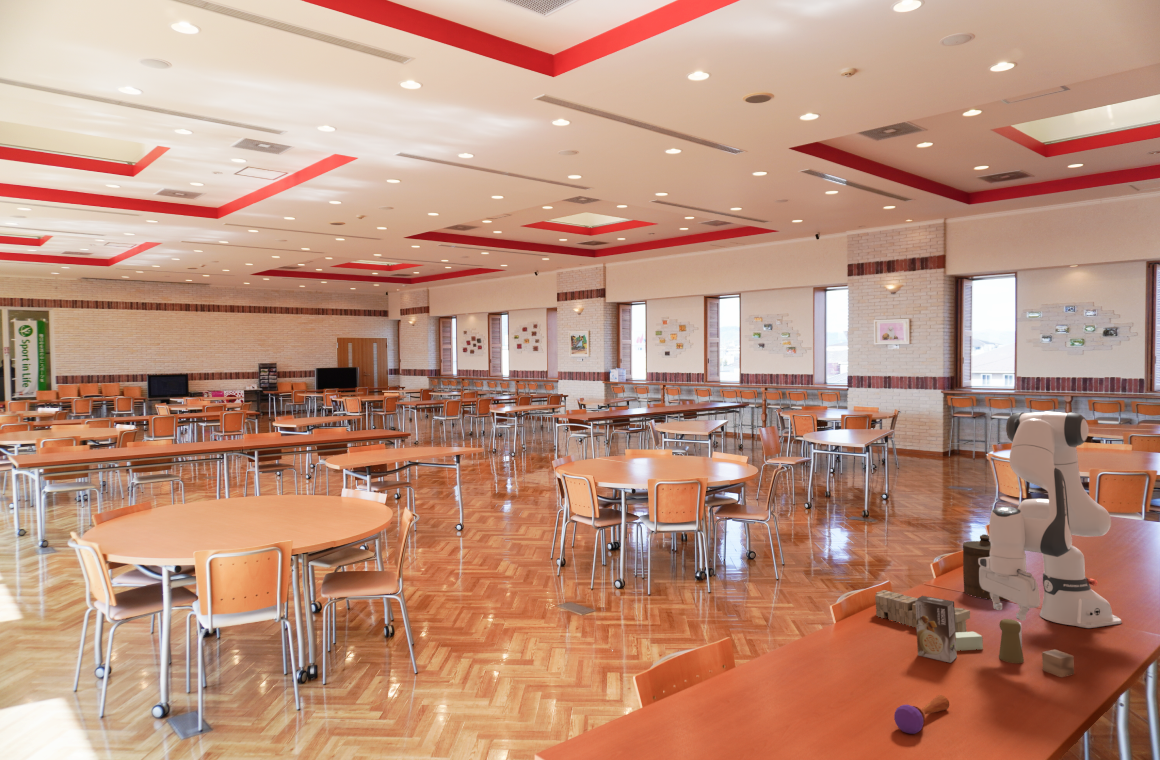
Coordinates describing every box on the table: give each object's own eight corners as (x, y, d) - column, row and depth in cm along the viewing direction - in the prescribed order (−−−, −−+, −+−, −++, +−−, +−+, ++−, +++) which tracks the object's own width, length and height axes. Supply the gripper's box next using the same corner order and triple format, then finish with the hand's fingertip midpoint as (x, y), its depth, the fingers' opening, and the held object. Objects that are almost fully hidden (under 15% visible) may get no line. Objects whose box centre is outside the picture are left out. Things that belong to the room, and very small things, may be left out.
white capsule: (1014, 642, 207) (1013, 619, 207) (1026, 648, 202) (1025, 624, 202) (998, 643, 207) (997, 620, 207) (1010, 649, 202) (1009, 625, 202)
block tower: (872, 618, 235) (958, 641, 210) (870, 593, 235) (956, 613, 211) (886, 614, 239) (971, 635, 214) (884, 589, 239) (969, 608, 215)
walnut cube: (1055, 667, 189) (1055, 649, 189) (1074, 674, 184) (1073, 655, 184) (1042, 670, 187) (1042, 652, 187) (1061, 677, 182) (1060, 658, 183)
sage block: (973, 644, 207) (973, 631, 207) (982, 649, 203) (982, 636, 203) (948, 646, 206) (948, 632, 206) (957, 651, 202) (956, 637, 202)
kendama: (957, 697, 164) (918, 716, 152) (952, 720, 165) (912, 742, 153) (932, 684, 169) (892, 702, 157) (927, 707, 170) (887, 727, 157)
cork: (1027, 663, 192) (1026, 624, 192) (1003, 662, 193) (1002, 623, 193) (1018, 655, 198) (1017, 617, 198) (995, 654, 199) (994, 616, 199)
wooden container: (992, 587, 262) (990, 530, 263) (1019, 599, 248) (1017, 538, 248) (955, 589, 262) (953, 531, 262) (980, 601, 247) (978, 540, 247)
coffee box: (957, 656, 198) (956, 601, 198) (950, 663, 193) (948, 606, 193) (924, 649, 204) (922, 594, 204) (916, 655, 200) (914, 600, 200)
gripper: (1045, 574, 185) (1047, 626, 185) (994, 556, 206) (995, 603, 205) (1023, 575, 185) (1025, 627, 184) (974, 557, 205) (975, 604, 205)
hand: (1009, 614), depth 195 cm, fingers open, 8 cm apart
